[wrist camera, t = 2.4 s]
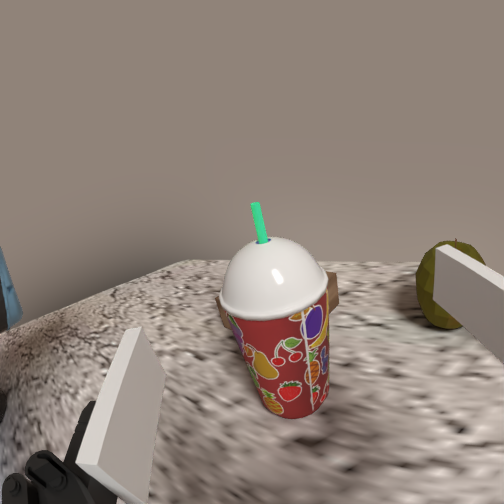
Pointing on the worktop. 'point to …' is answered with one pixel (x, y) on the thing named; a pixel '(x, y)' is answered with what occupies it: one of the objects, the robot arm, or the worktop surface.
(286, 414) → the smoothie
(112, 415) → the robot arm
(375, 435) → the worktop surface
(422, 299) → the apple
